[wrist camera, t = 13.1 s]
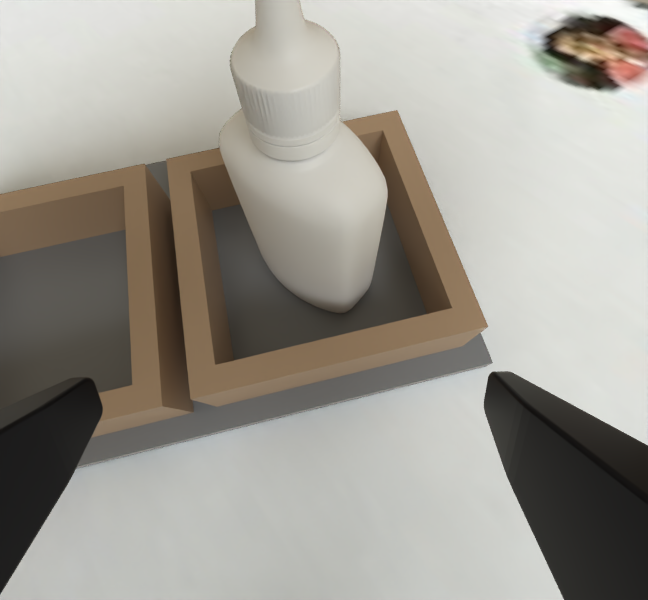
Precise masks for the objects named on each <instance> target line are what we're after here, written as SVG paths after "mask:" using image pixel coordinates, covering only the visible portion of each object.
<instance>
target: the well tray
mask: <svg viewBox="0 0 648 600" xmlns="http://www.w3.org/2000/svg"><path fill="white" fill-rule="evenodd" d="M343 123H344V124H345V125H346V126H347V127H348V128H349V129H350V130H351V131H352V132H353V133H354V134H355V135H356V136H357V137H358V138H359V139H360V140H361V142H362V143H363V144H364V145H365V147H366V148H367V149H368V150H369V152H370V153H371V155H372V156H373V158H374V159H375V161H376V162H377V164H378V166H379V167H380V169H381V171H382V173H383V175H384V177H385V180H386V184H387V190H388V198H387V204H386V210H385V216H384V222H383V227H382V232H381V237H380V242H379V247H378V252H377V257H376V262H375V267H374V272H373V277H372V281H371V284H370V287H369V289H368V290H367V291H366V293H365V294H364V295H363V296H362V297H361V299H360V300H359V301H358V302H357V303H356V304H355V305H354V306H353V308H352V309H350V310H349V311H347V312H346V313H335V312H330V311H327V310H324V309H321V308H318V307H316V306H314V305H311V304H309V303H307V302H305V301H304V300H302V299H300V298H299V297H297V296H296V295H294V294H293V293H292V292H290V291H289V290H288V289H287V288H286V287H285V286H284V285H283V284H282V283H281V282H280V281H279V280H278V279H277V278H276V277H275V275H274V274H273V273H272V271H271V270H270V269H269V267H268V266H267V264H266V262H265V260H264V259H263V257H262V255H261V252H260V250H259V247H258V245H257V243H256V240H255V238H254V235H253V233H252V231H251V228H250V226H249V223H248V221H247V218H246V216H245V214H244V211H243V209H242V206H241V204H240V201H239V199H238V196H237V194H236V191H235V189H234V187H233V184H232V182H231V179H230V176H229V174H228V171H227V169H226V166H225V163H224V161H223V158H222V155H221V152H220V148H216V149H212V150H207V151H202V152H198V153H193V154H188V155H183V156H179V157H174V158H169V159H166V160H167V161H162V162H157V163H153V164H148V165H145V164H141V165H136V166H131V167H127V168H122V169H117V170H113V171H108V172H103V173H98V174H94V175H89V176H84V177H79V178H75V179H70V180H65V181H61V182H56V183H51V184H46V185H42V186H37V187H32V188H28V189H23V190H18V191H13V192H9V193H4V194H0V409H1V408H4V407H6V406H8V405H10V404H13V403H15V402H17V401H19V400H22V399H24V398H26V397H29V396H31V395H33V394H35V393H38V392H40V391H42V390H44V389H47V388H49V387H51V386H53V385H56V384H58V383H60V382H62V381H65V380H67V379H69V378H73V377H89V378H91V379H93V381H94V382H95V385H96V388H97V390H98V393H99V396H100V399H101V402H102V406H103V413H102V416H101V419H100V421H99V423H98V425H97V427H96V429H95V431H94V433H93V435H92V437H91V439H90V441H89V443H88V445H87V447H86V449H85V451H84V453H83V455H82V457H81V459H80V461H79V463H78V466H77V468H81V467H85V466H89V465H93V464H97V463H101V462H105V461H109V460H113V459H117V458H121V457H125V456H129V455H133V454H137V453H141V452H145V451H149V450H153V449H157V448H161V447H165V446H169V445H173V444H177V443H181V442H185V441H189V440H193V439H197V438H201V437H205V436H209V435H213V434H217V433H221V432H225V431H229V430H233V429H237V428H241V427H245V426H249V425H253V424H257V423H261V422H265V421H269V420H273V419H277V418H281V417H285V416H289V415H293V414H297V413H301V412H305V411H309V410H313V409H317V408H321V407H325V406H329V405H333V404H337V403H341V402H345V401H349V400H353V399H357V398H361V397H365V396H369V395H373V394H377V393H381V392H385V391H389V390H393V389H397V388H401V387H405V386H409V385H413V384H417V383H421V382H425V381H429V380H433V379H437V378H441V377H445V376H449V375H453V374H457V373H461V372H465V371H469V370H473V369H477V368H481V367H485V366H487V365H489V364H491V363H493V362H492V360H491V357H490V355H489V352H488V350H487V348H486V345H485V343H484V340H483V338H482V335H481V333H480V332H482V331H483V330H484V329H486V328H487V327H488V325H487V323H486V320H485V318H484V316H483V313H482V311H481V308H480V306H479V304H478V301H477V299H476V297H475V294H474V292H473V289H472V287H471V285H470V282H469V280H468V277H467V275H466V273H465V270H464V268H463V266H462V263H461V261H460V258H459V256H458V254H457V251H456V249H455V247H454V244H453V242H452V239H451V237H450V235H449V232H448V230H447V228H446V225H445V223H444V220H443V218H442V216H441V213H440V211H439V208H438V206H437V204H436V201H435V199H434V197H433V194H432V192H431V189H430V187H429V185H428V182H427V180H426V178H425V175H424V173H423V170H422V168H421V166H420V163H419V161H418V158H417V156H416V154H415V151H414V149H413V147H412V144H411V142H410V139H409V137H408V135H407V132H406V130H405V128H404V125H403V123H402V120H401V118H400V116H399V113H398V111H397V110H396V111H391V112H386V113H382V114H377V115H372V116H368V117H363V118H358V119H353V120H349V121H344V122H343ZM77 468H76V469H77Z"/></svg>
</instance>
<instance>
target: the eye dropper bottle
mask: <svg viewBox="0 0 648 600" xmlns="http://www.w3.org/2000/svg"><path fill="white" fill-rule="evenodd" d="M255 14H256V26H255V27H253V28H251V29H250V30H248V31H247V32H246V33H245V34H244V35H242V36H241V38H240V39H239V40H238V41H237V43H236V44H235V46H234V48H233V50H232V52H231V53H232V54H231V56H230V58H231V59H230V67H231V72H232V76H233V79H234V82H235V86H236V89H237V93H238V96H239V100H240V103H241V106H242V109H240V110H239V111H238V112H237V113H236V114H234V115H233V116H232V117H231V118H230V119H229V120H228V121H227V122H226V123H225V125H224V126H223V128H222V130H221V131H220V134H219V148H220V152H221V155H222V158H223V161H224V163H225V166H226V169H227V171H228V174H229V176H230V179H231V182H232V184H233V187H234V189H235V191H236V194H237V196H238V199H239V201H240V204H241V206H242V209H243V211H244V214H245V216H246V218H247V221H248V223H249V226H250V228H251V231H252V233H253V235H254V238H255V240H256V243H257V245H258V247H259V250H260V252H261V255H262V257H263V259H264V260H265V262H266V264H267V266H268V267H269V269H270V270H271V271H272V273H273V274H274V275H275V277H276V278H277V279H278V280H279V281H280V282H281V283H282V284H283V285H284V286H285V287H286V288H287V289H288V290H289V291H290V292H292V293H293V294H294V295H296V296H297V297H299V298H300V299H302V300H304V301H305V302H307V303H309V304H311V305H314V306H316V307H318V308H321V309H324V310H327V311H330V312H335V313H346V312H347V311H349V310H350V309H352V308H353V306H354V305H355V304H356V303H357V302H358V301H359V300H360V299H361V297H362V296H363V295H364V294H365V293H366V291H367V290H368V289H369V287H370V284H371V281H372V277H373V272H374V267H375V262H376V257H377V252H378V247H379V242H380V237H381V232H382V227H383V222H384V216H385V210H386V204H387V198H388V190H387V184H386V180H385V177H384V175H383V173H382V171H381V169H380V167H379V166H378V164H377V162H376V161H375V159H374V158H373V156H372V155H371V153H370V152H369V150H368V149H367V148H366V147H365V145H364V144H363V143H362V142H361V140H360V139H359V138H358V137H357V136H356V135H355V134H354V133H353V132H352V131H351V130H350V129H349V128H348V127H347V126H346V125H345V124H344V123H343V122H342V121H341V120H340V51H339V47H338V44H337V42H336V40H335V39H334V37H333V36H332V35H331V34H330V33H329V32H328V31H327V30H326V29H324V28H323V27H321V26H320V25H318V24H316V23H314V22H311V21H308V20H305V19H304V16H303V13H302V9H301V5H300V1H299V0H255Z"/></svg>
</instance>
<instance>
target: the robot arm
mask: <svg viewBox="0 0 648 600" xmlns="http://www.w3.org/2000/svg"><path fill="white" fill-rule="evenodd" d="M484 410H485V414H486V417H487V420H488V423H489V426H490V429H491V432H492V435H493V437H494V440H495V443H496V446H497V449H498V452H499V455H500V458H501V461H502V464H503V467H504V469H505V472H506V475H507V477H508V480H509V482H510V484H511V487H512V489H513V491H514V493H515V495H516V497H517V500H518V502H519V504H520V506H521V508H522V510H523V512H524V515H525V517H526V519H527V521H528V523H529V525H530V528H531V530H532V532H533V534H534V536H535V538H536V540H537V543H538V545H539V547H540V549H541V551H542V553H543V555H544V558H545V560H546V562H547V564H548V566H549V568H550V570H551V573H552V575H553V577H554V579H555V581H556V583H557V585H558V588H559V590H560V592H561V594H562V596H563V598H564V600H648V445H646V444H644V443H642V442H640V441H638V440H637V439H635V438H633V437H631V436H629V435H627V434H625V433H624V432H622V431H620V430H618V429H616V428H614V427H612V426H611V425H609V424H607V423H605V422H603V421H601V420H599V419H598V418H596V417H594V416H592V415H590V414H588V413H586V412H585V411H583V410H581V409H579V408H577V407H575V406H573V405H571V404H570V403H568V402H566V401H564V400H562V399H560V398H558V397H557V396H555V395H553V394H551V393H549V392H547V391H545V390H544V389H542V388H540V387H538V386H536V385H534V384H532V383H531V382H529V381H527V380H525V379H523V378H521V377H519V376H518V375H516V374H514V373H512V372H508V371H504V372H492V373H490V375H489V377H488V382H487V387H486V393H485V399H484ZM102 413H103V406H102V402H101V399H100V396H99V393H98V390H97V388H96V385H95V382H94V381H93V379H91V378H89V377H73V378H69V379H67V380H65V381H62V382H60V383H58V384H56V385H53V386H51V387H49V388H47V389H44V390H42V391H40V392H38V393H35V394H33V395H31V396H29V397H26V398H24V399H22V400H19V401H17V402H15V403H13V404H10V405H8V406H6V407H4V408H1V409H0V594H1V592H2V591H3V589H4V588H5V586H6V584H7V583H8V581H9V579H10V578H11V576H12V574H13V573H14V571H15V570H16V568H17V566H18V565H19V563H20V561H21V560H22V558H23V556H24V555H25V553H26V552H27V550H28V548H29V547H30V545H31V543H32V542H33V540H34V538H35V537H36V535H37V534H38V532H39V530H40V529H41V527H42V525H43V524H44V522H45V520H46V519H47V517H48V516H49V514H50V512H51V511H52V509H53V507H54V506H55V504H56V503H57V501H58V499H59V498H60V496H61V494H62V493H63V491H64V489H65V488H66V486H67V484H68V483H69V481H70V479H71V477H72V475H73V473H74V471H75V469H76V468H77V466H78V463H79V461H80V459H81V457H82V455H83V453H84V451H85V449H86V447H87V445H88V443H89V441H90V439H91V437H92V435H93V433H94V431H95V429H96V427H97V425H98V423H99V421H100V419H101V416H102Z"/></svg>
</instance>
